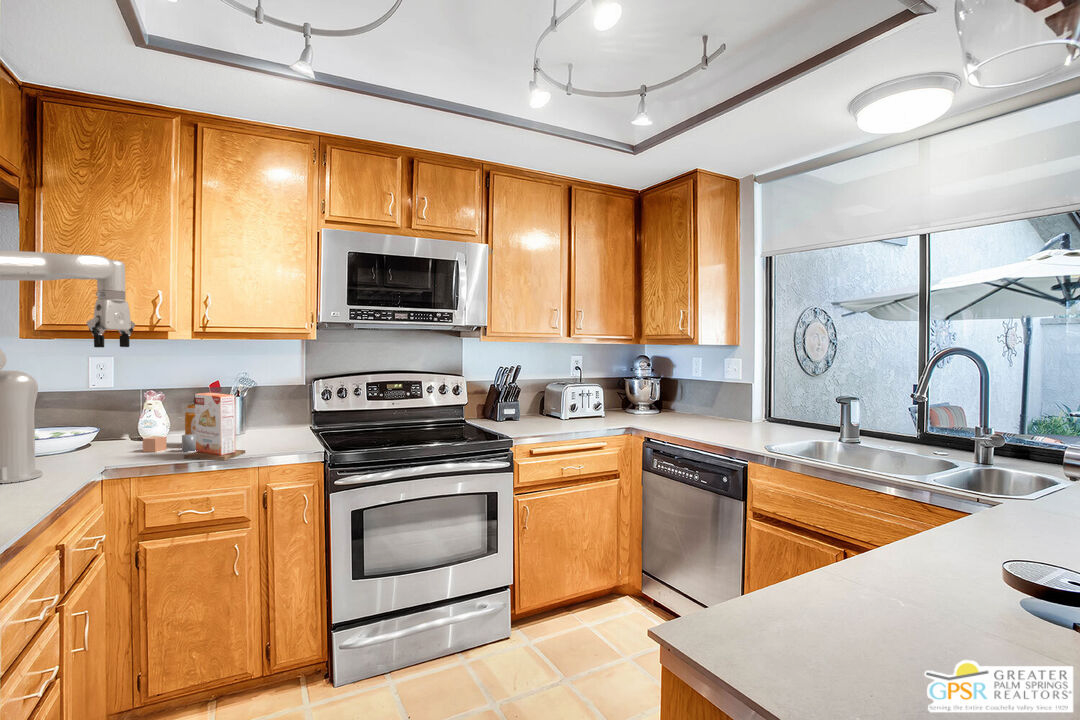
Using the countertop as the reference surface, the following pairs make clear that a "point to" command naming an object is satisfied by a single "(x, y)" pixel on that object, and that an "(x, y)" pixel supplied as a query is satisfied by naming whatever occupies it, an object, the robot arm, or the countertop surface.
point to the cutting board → (213, 455)
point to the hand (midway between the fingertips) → (112, 347)
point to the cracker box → (215, 423)
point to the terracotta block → (154, 444)
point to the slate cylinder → (188, 442)
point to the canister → (190, 419)
